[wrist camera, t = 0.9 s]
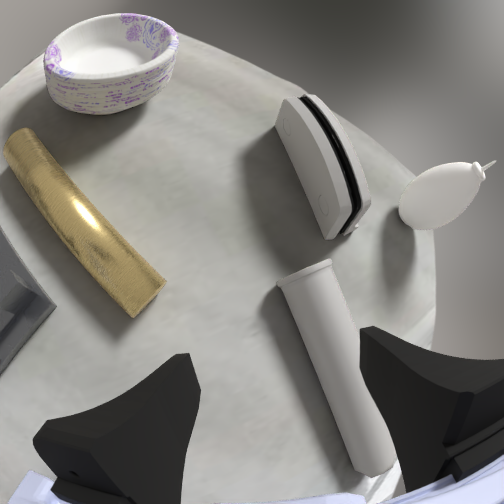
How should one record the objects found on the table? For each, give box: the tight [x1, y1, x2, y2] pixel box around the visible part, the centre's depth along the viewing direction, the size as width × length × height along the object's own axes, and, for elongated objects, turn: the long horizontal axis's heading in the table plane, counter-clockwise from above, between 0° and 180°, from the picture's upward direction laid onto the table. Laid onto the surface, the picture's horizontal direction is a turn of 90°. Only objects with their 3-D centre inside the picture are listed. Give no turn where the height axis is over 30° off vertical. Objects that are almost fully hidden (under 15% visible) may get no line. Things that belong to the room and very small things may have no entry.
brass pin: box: [3, 128, 167, 318], centre depth 21 cm, size 21×4×4 cm, turn 52°
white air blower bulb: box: [399, 161, 496, 230], centre depth 32 cm, size 8×8×18 cm
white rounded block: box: [275, 94, 371, 240], centre depth 31 cm, size 17×5×10 cm, turn 21°
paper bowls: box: [43, 13, 179, 115], centre depth 24 cm, size 15×15×8 cm
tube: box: [276, 259, 396, 478], centre depth 25 cm, size 5×5×25 cm
